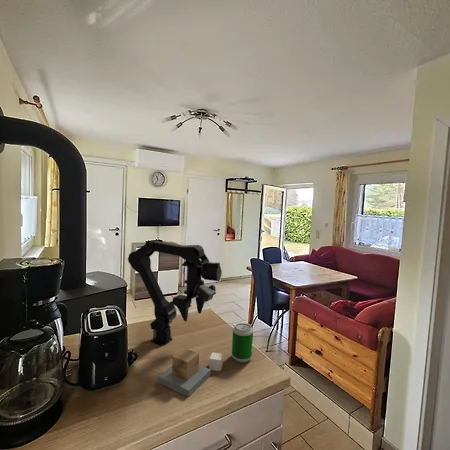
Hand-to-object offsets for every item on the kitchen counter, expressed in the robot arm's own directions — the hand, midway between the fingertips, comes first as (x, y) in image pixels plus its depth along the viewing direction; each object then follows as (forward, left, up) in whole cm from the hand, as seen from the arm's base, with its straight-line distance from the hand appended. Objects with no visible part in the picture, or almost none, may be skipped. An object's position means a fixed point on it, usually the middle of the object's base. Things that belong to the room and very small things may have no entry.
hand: (192, 317), depth 105 cm
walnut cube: (+10, -17, -10) cm, 22 cm away
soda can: (+20, +4, -12) cm, 24 cm away
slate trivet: (+10, -17, -12) cm, 23 cm away
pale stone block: (+15, -6, -12) cm, 20 cm away
